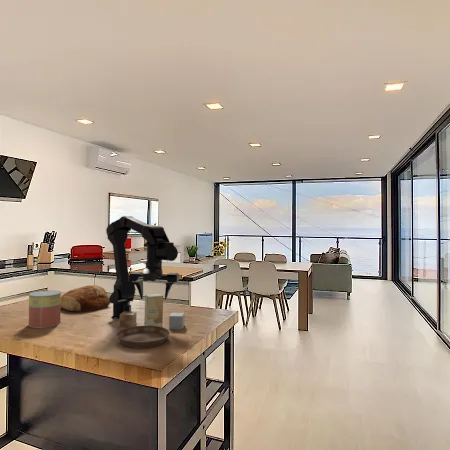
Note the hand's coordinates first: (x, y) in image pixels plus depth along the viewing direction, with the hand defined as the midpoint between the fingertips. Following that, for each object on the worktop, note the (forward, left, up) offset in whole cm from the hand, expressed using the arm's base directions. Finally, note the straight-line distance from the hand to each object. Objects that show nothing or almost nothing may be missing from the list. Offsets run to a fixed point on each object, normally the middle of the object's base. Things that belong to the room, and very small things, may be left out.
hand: (153, 299), depth 139 cm
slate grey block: (+9, 0, -11) cm, 14 cm away
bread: (-41, +27, -11) cm, 50 cm away
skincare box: (0, 0, -11) cm, 11 cm away
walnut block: (-10, 0, -11) cm, 15 cm away
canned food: (-43, 0, -11) cm, 44 cm away
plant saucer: (+1, -17, -11) cm, 20 cm away
